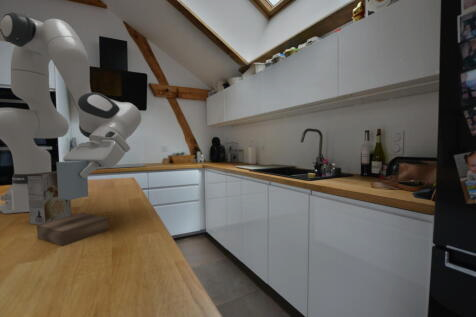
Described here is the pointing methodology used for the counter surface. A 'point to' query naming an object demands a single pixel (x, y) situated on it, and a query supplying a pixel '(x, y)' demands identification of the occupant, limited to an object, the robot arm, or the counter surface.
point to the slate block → (71, 180)
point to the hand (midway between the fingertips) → (74, 176)
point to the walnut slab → (72, 228)
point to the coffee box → (45, 198)
